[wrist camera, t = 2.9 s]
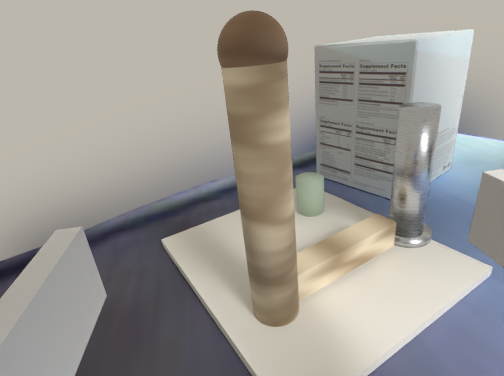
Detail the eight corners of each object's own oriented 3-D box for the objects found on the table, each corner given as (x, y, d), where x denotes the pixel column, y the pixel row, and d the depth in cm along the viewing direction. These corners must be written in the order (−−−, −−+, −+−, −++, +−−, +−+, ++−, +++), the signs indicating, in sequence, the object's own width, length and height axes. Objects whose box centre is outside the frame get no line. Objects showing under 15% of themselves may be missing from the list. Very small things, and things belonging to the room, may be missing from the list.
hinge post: (399, 217, 33) (411, 98, 28) (441, 235, 30) (464, 104, 25) (369, 232, 31) (377, 108, 26) (411, 254, 28) (429, 115, 23)
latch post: (311, 201, 38) (310, 169, 37) (329, 210, 36) (329, 177, 34) (291, 209, 37) (289, 177, 35) (309, 219, 35) (308, 185, 33)
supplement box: (367, 151, 54) (374, 35, 47) (452, 169, 44) (477, 27, 37) (314, 176, 47) (311, 44, 40) (401, 204, 37) (418, 37, 30)
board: (307, 188, 43) (307, 183, 43) (490, 275, 26) (492, 267, 26) (162, 246, 34) (161, 239, 34) (293, 435, 17) (293, 426, 17)
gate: (367, 237, 31) (381, 4, 23) (401, 255, 28) (431, -4, 20) (242, 304, 25) (200, 17, 16) (270, 336, 22) (235, 8, 14)
